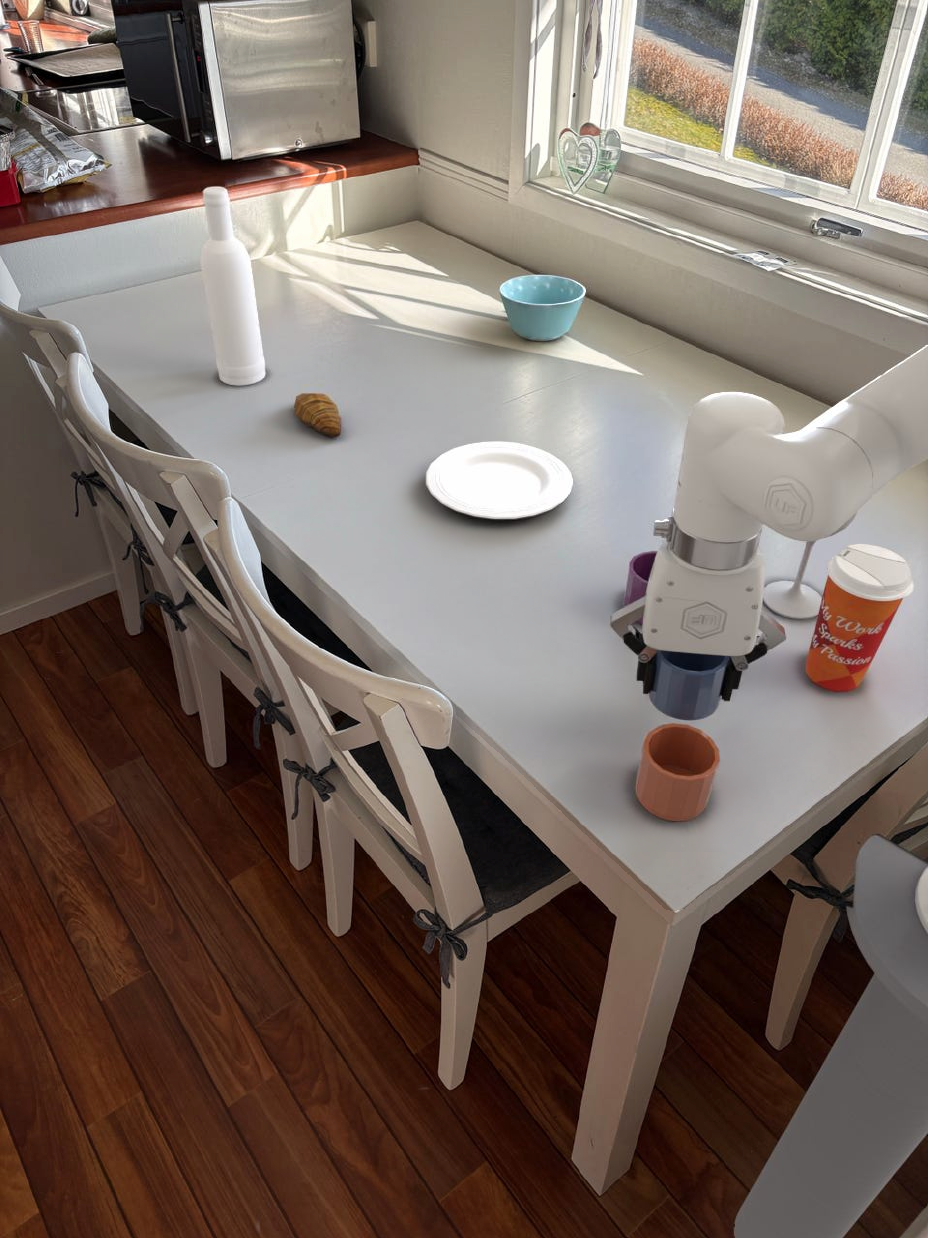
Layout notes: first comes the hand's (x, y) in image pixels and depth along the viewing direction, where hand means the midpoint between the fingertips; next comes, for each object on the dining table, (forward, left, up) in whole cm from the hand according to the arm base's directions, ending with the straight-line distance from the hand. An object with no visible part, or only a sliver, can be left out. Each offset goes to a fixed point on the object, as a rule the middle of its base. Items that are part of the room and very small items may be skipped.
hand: (685, 687), depth 91 cm
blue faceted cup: (0, 0, -1) cm, 1 cm away
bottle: (+102, -2, -7) cm, 102 cm away
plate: (+48, -15, -7) cm, 50 cm away
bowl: (+87, -56, -7) cm, 103 cm away
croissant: (+80, -4, -7) cm, 80 cm away
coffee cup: (-4, -21, -7) cm, 22 cm away
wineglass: (+7, -28, -7) cm, 29 cm away
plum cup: (+16, -13, -7) cm, 21 cm away
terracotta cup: (-5, +6, -7) cm, 10 cm away
